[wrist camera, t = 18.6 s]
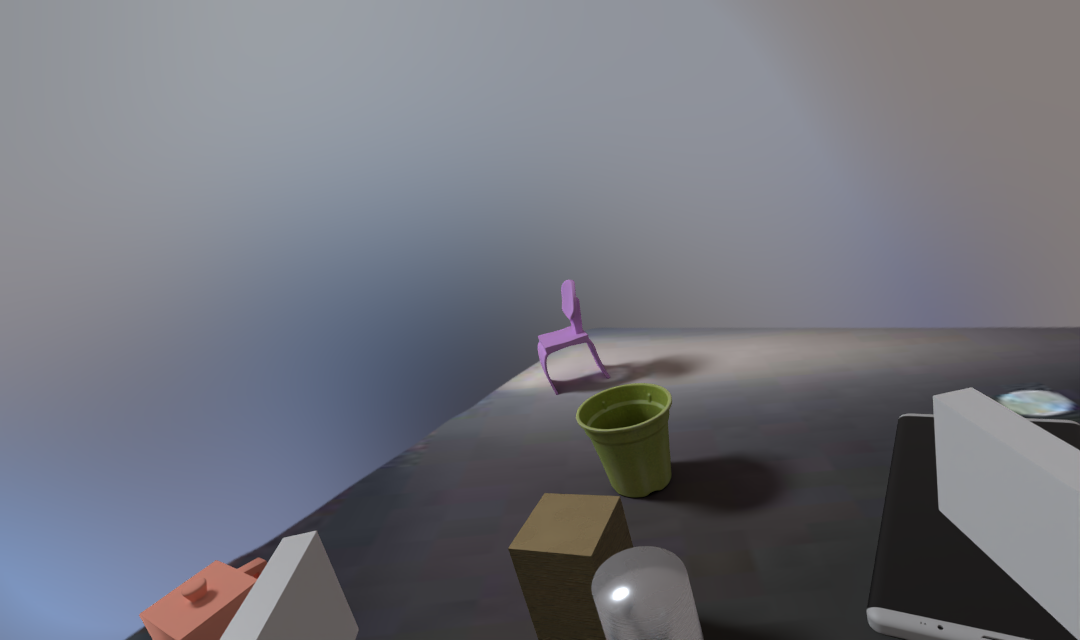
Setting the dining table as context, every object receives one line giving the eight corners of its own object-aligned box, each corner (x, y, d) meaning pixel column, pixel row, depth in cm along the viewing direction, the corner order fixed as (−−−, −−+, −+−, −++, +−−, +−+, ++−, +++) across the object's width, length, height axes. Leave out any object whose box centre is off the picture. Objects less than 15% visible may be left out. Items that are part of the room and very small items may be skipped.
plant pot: (674, 514, 54) (654, 430, 51) (581, 505, 59) (560, 429, 56) (698, 456, 61) (682, 381, 59) (615, 453, 66) (597, 384, 64)
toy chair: (544, 379, 93) (518, 289, 88) (597, 362, 93) (574, 272, 89) (554, 398, 85) (526, 300, 80) (612, 380, 85) (587, 282, 81)
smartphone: (1081, 435, 51) (1081, 417, 50) (1162, 708, 30) (1163, 682, 30) (900, 426, 59) (898, 410, 58) (867, 637, 38) (864, 615, 38)
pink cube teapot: (134, 712, 48) (87, 633, 46) (267, 604, 57) (233, 533, 55) (173, 751, 43) (123, 665, 41) (312, 627, 52) (276, 550, 50)
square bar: (546, 663, 42) (508, 548, 39) (576, 599, 47) (544, 493, 44) (626, 679, 39) (591, 556, 36) (649, 609, 44) (619, 496, 41)
